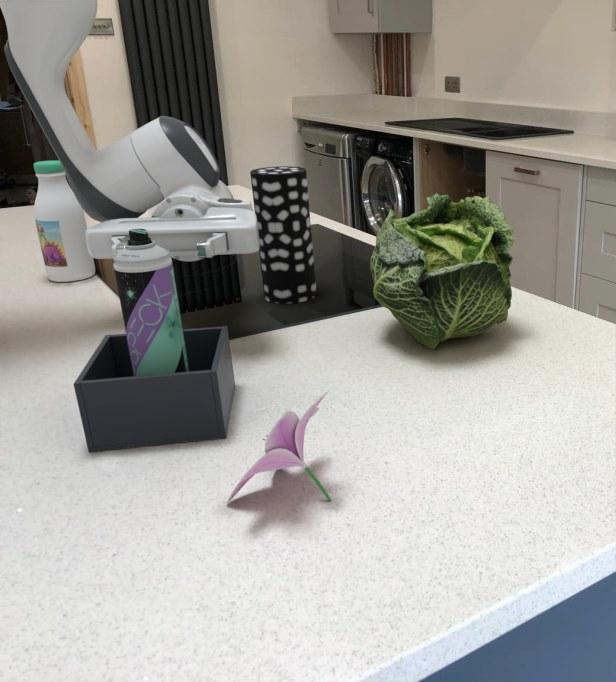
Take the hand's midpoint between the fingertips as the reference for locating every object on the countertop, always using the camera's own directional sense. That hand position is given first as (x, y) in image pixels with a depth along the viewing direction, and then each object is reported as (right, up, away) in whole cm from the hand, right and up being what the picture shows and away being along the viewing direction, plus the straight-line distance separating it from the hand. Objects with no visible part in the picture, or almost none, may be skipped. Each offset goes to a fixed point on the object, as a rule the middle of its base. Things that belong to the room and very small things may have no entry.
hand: (161, 252), depth 84 cm
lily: (+19, -24, -18) cm, 36 cm away
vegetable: (+32, -9, +18) cm, 38 cm away
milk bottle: (-34, +1, +46) cm, 57 cm away
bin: (+2, -18, -4) cm, 19 cm away
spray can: (+2, -18, -4) cm, 19 cm away
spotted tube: (+7, -3, +35) cm, 35 cm away
